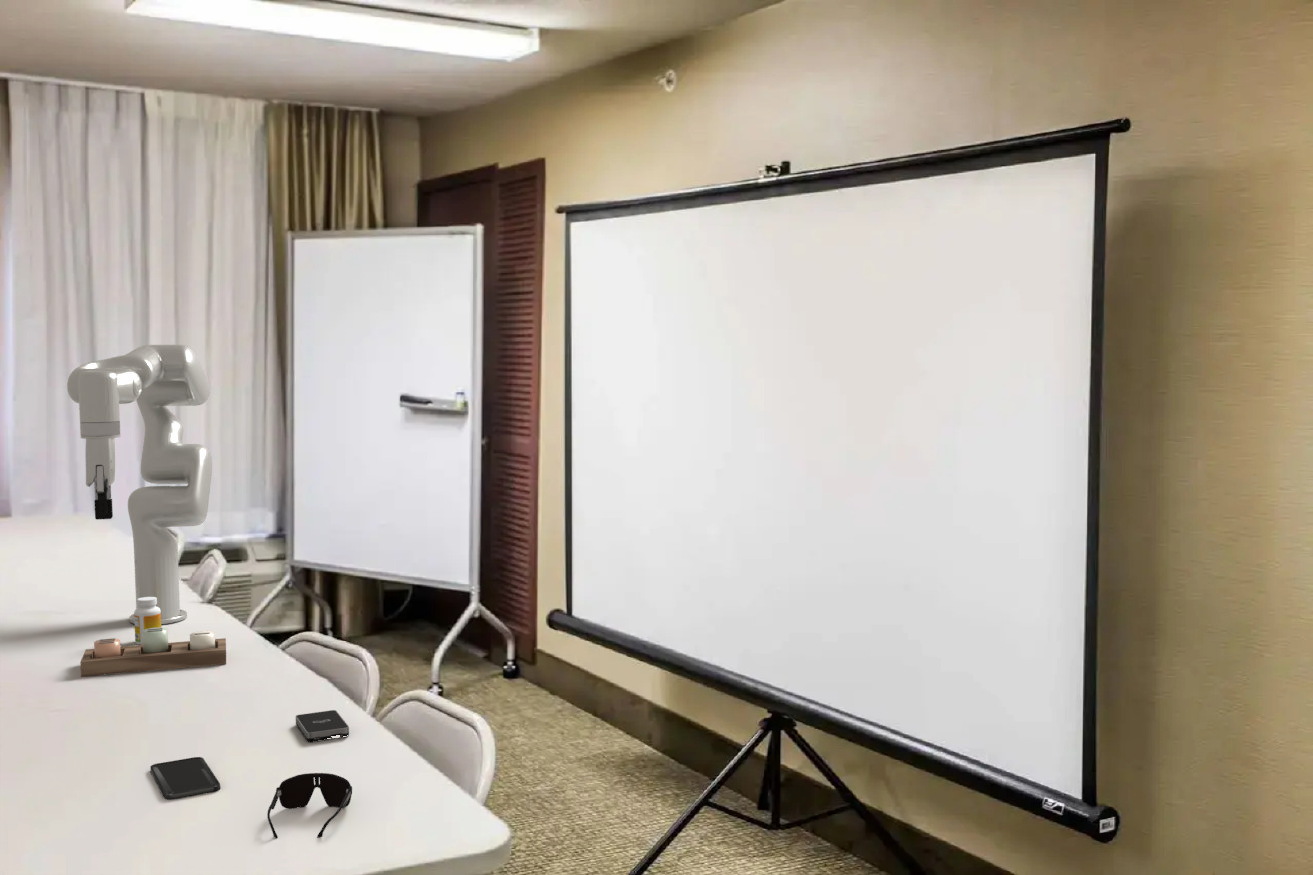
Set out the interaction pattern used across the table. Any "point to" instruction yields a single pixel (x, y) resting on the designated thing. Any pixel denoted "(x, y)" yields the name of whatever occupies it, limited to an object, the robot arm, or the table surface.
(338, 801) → the sunglasses
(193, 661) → the button board
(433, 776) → the table surface
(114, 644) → the button
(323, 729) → the external hard drive
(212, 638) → the button
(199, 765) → the phone
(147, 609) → the supplement bottle
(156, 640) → the button
